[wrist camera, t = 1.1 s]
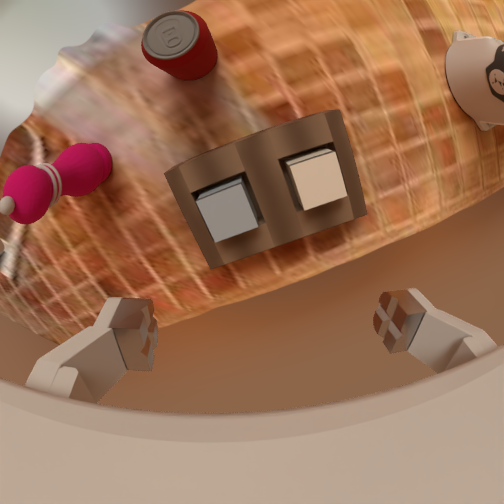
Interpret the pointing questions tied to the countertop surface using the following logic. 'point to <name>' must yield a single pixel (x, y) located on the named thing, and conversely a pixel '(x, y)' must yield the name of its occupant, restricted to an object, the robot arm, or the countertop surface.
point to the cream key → (316, 177)
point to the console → (268, 186)
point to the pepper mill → (54, 181)
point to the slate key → (227, 209)
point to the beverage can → (180, 45)
